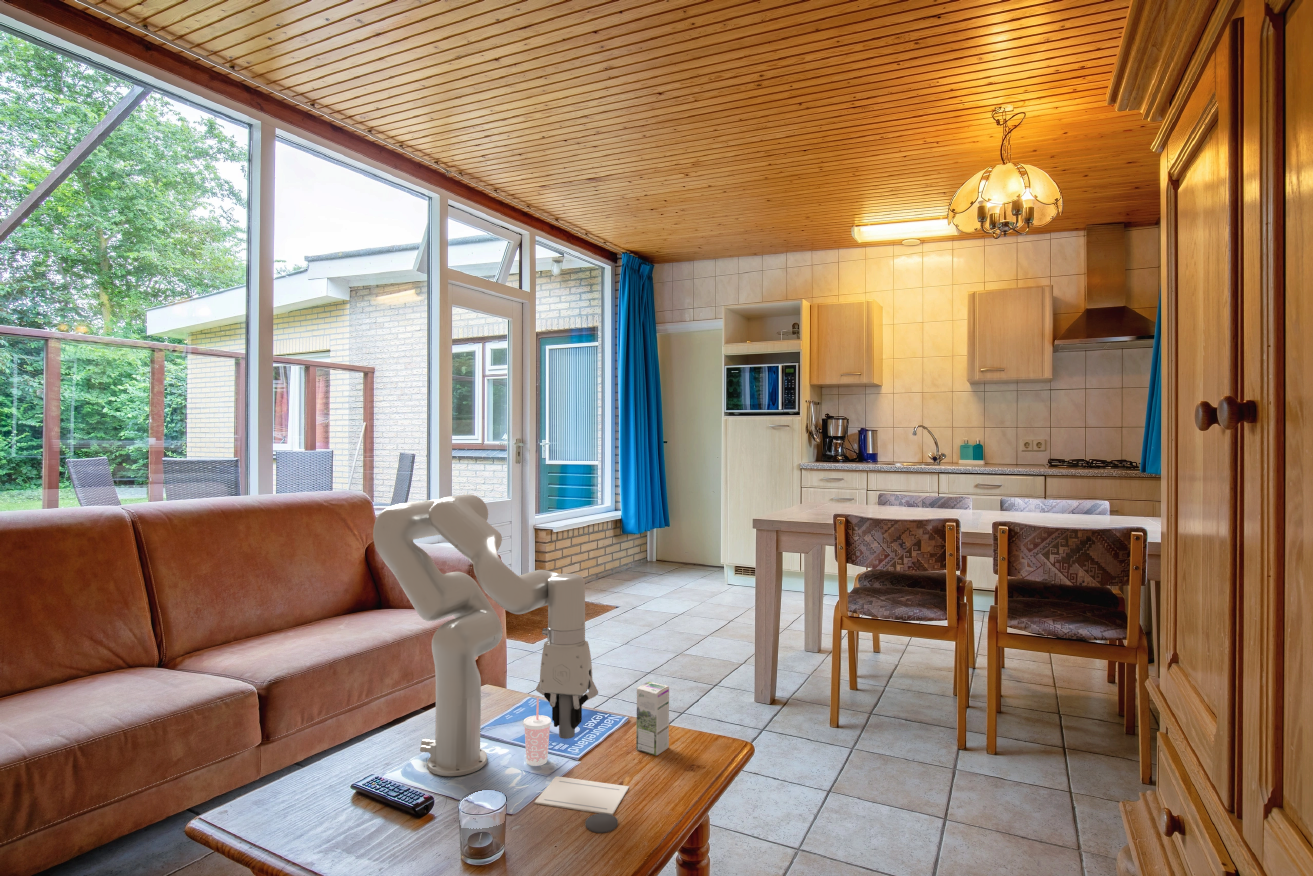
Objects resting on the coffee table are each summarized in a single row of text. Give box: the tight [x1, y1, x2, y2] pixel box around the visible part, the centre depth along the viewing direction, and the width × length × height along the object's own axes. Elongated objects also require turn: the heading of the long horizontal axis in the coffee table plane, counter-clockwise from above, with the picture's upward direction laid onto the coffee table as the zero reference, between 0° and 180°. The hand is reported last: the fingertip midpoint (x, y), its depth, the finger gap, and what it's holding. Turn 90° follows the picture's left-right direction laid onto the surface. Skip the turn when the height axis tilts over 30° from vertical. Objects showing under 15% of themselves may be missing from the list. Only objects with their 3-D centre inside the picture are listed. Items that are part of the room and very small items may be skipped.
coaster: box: [584, 813, 619, 834], centre depth 132 cm, size 6×6×1 cm
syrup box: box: [635, 681, 670, 756], centre depth 165 cm, size 6×6×14 cm
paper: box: [534, 776, 630, 816], centre depth 143 cm, size 16×11×1 cm
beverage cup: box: [522, 697, 552, 767], centre depth 158 cm, size 6×6×14 cm
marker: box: [558, 694, 576, 740], centre depth 146 cm, size 3×3×11 cm
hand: (566, 724), depth 146 cm, fingers closed on marker, 3 cm apart
